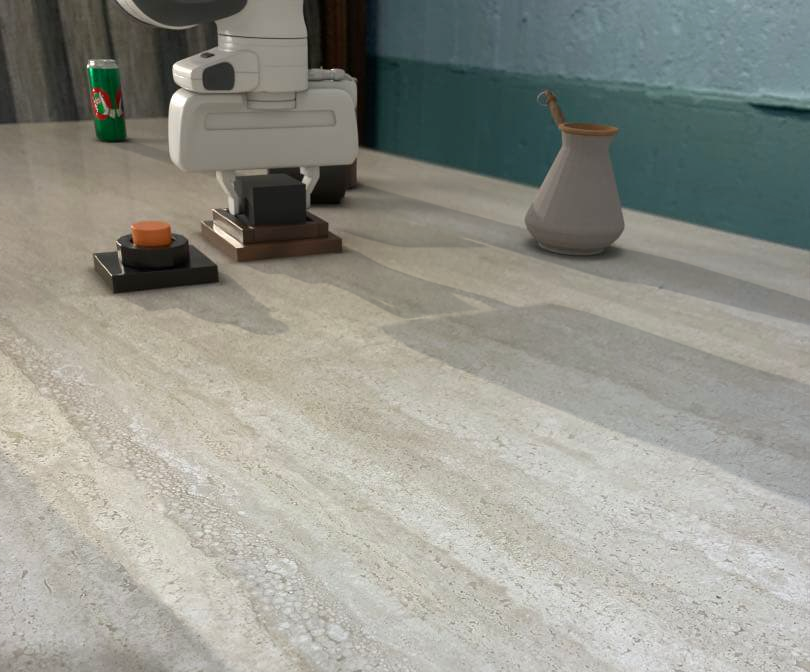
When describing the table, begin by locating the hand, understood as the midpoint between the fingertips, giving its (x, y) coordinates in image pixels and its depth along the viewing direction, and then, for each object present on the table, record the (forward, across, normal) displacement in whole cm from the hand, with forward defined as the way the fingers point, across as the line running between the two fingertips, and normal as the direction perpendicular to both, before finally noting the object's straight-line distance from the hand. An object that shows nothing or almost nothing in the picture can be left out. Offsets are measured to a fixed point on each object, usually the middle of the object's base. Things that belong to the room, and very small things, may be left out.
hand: (269, 211), depth 95 cm
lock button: (0, +15, +8) cm, 17 cm away
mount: (+3, 0, 0) cm, 3 cm away
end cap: (+4, -12, -18) cm, 22 cm away
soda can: (+4, +1, -71) cm, 71 cm away
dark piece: (+3, +15, +8) cm, 17 cm away
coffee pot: (+4, -34, +8) cm, 35 cm away
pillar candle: (+4, -19, -28) cm, 34 cm away
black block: (+2, 0, 0) cm, 2 cm away
